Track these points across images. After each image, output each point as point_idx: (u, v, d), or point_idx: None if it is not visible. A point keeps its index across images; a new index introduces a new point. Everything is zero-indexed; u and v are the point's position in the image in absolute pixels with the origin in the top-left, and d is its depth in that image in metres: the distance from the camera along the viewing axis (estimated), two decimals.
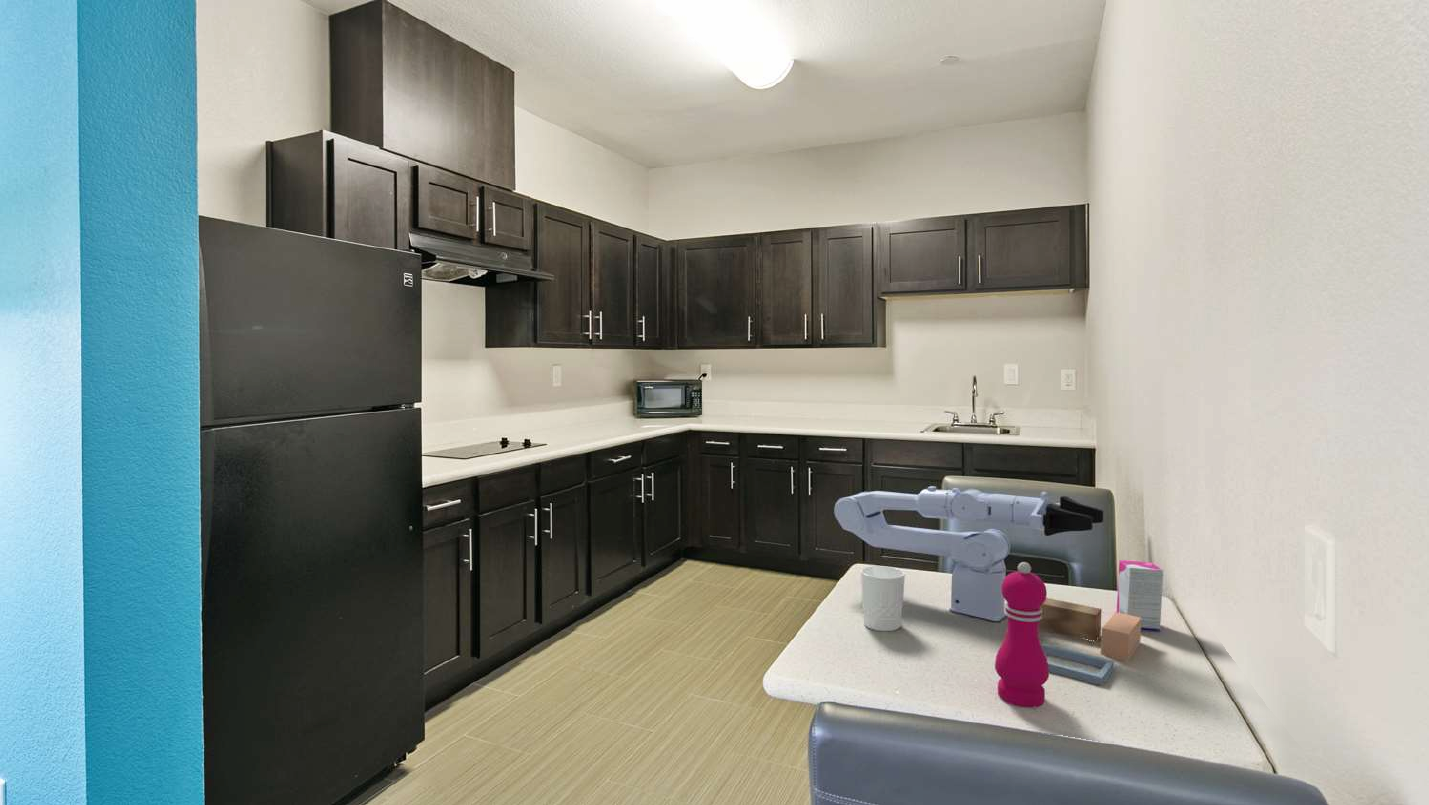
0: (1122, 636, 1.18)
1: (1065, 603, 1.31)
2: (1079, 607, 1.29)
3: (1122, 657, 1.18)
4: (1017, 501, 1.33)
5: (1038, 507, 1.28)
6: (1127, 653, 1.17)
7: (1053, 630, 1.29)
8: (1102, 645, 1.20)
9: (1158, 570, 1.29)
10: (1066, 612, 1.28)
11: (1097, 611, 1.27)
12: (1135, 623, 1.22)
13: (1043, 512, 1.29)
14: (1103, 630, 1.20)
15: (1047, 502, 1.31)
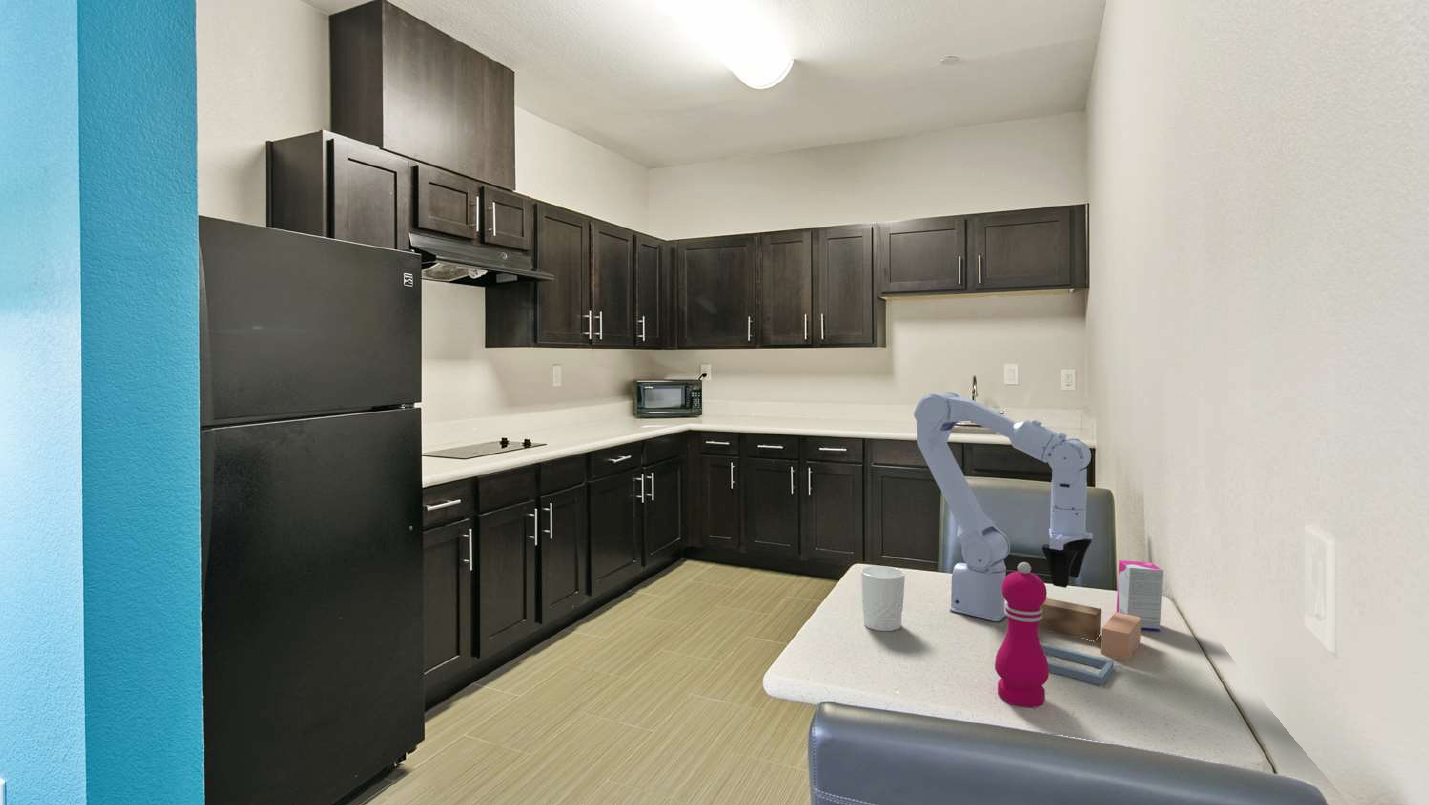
0: (1122, 636, 1.18)
1: (1065, 603, 1.31)
2: (1079, 607, 1.29)
3: (1122, 657, 1.18)
4: (1078, 513, 1.26)
5: (1072, 539, 1.25)
6: (1127, 653, 1.17)
7: (1053, 630, 1.30)
8: (1102, 645, 1.20)
9: (1158, 570, 1.29)
10: (1066, 612, 1.28)
11: (1097, 611, 1.27)
12: (1135, 623, 1.22)
13: None
14: (1103, 630, 1.20)
15: None
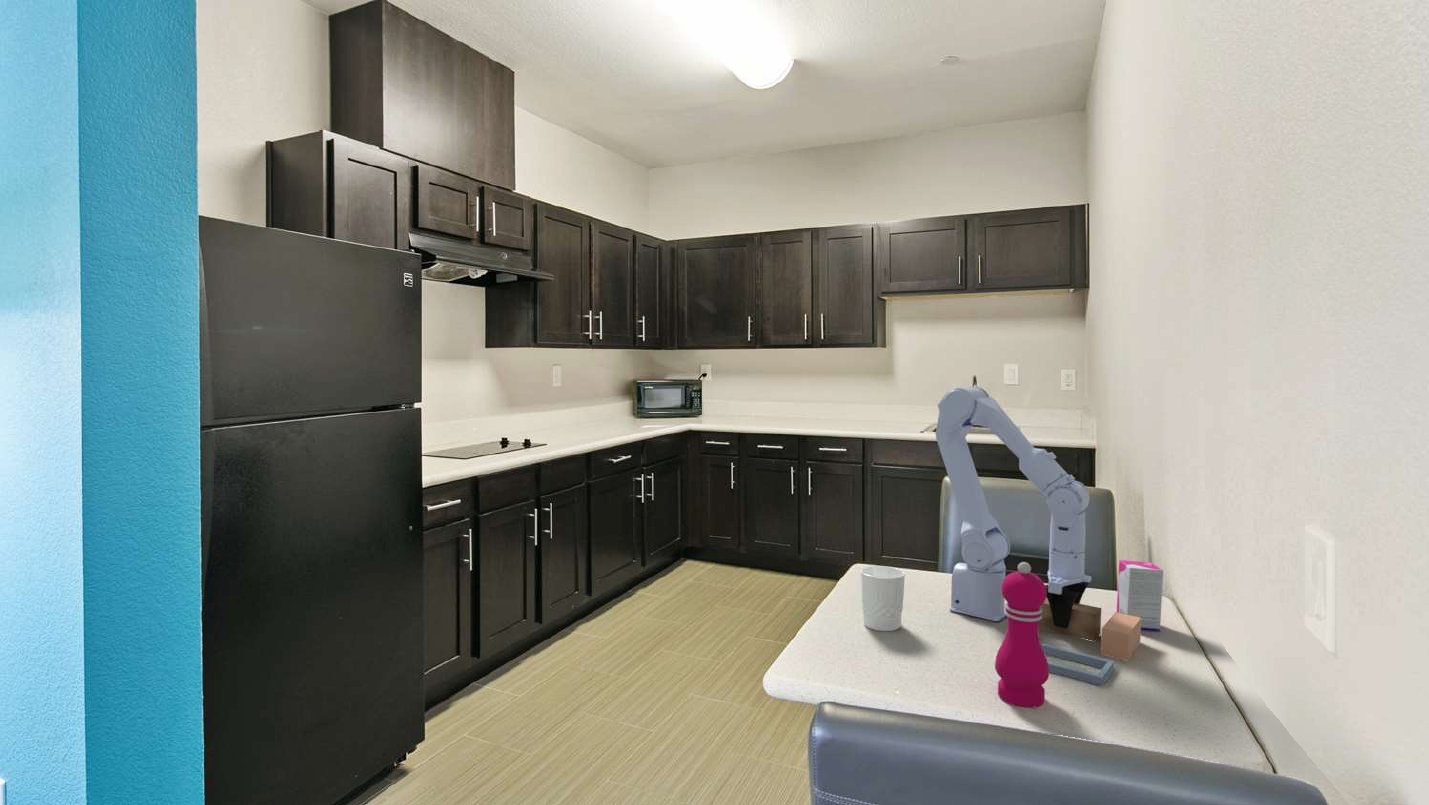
0: (1122, 636, 1.18)
1: None
2: (1079, 606, 1.29)
3: (1122, 657, 1.18)
4: (1077, 556, 1.27)
5: (1071, 583, 1.25)
6: (1127, 653, 1.17)
7: (1053, 629, 1.30)
8: (1102, 645, 1.20)
9: (1158, 570, 1.29)
10: None
11: (1097, 610, 1.26)
12: (1135, 623, 1.22)
13: None
14: (1103, 630, 1.20)
15: None
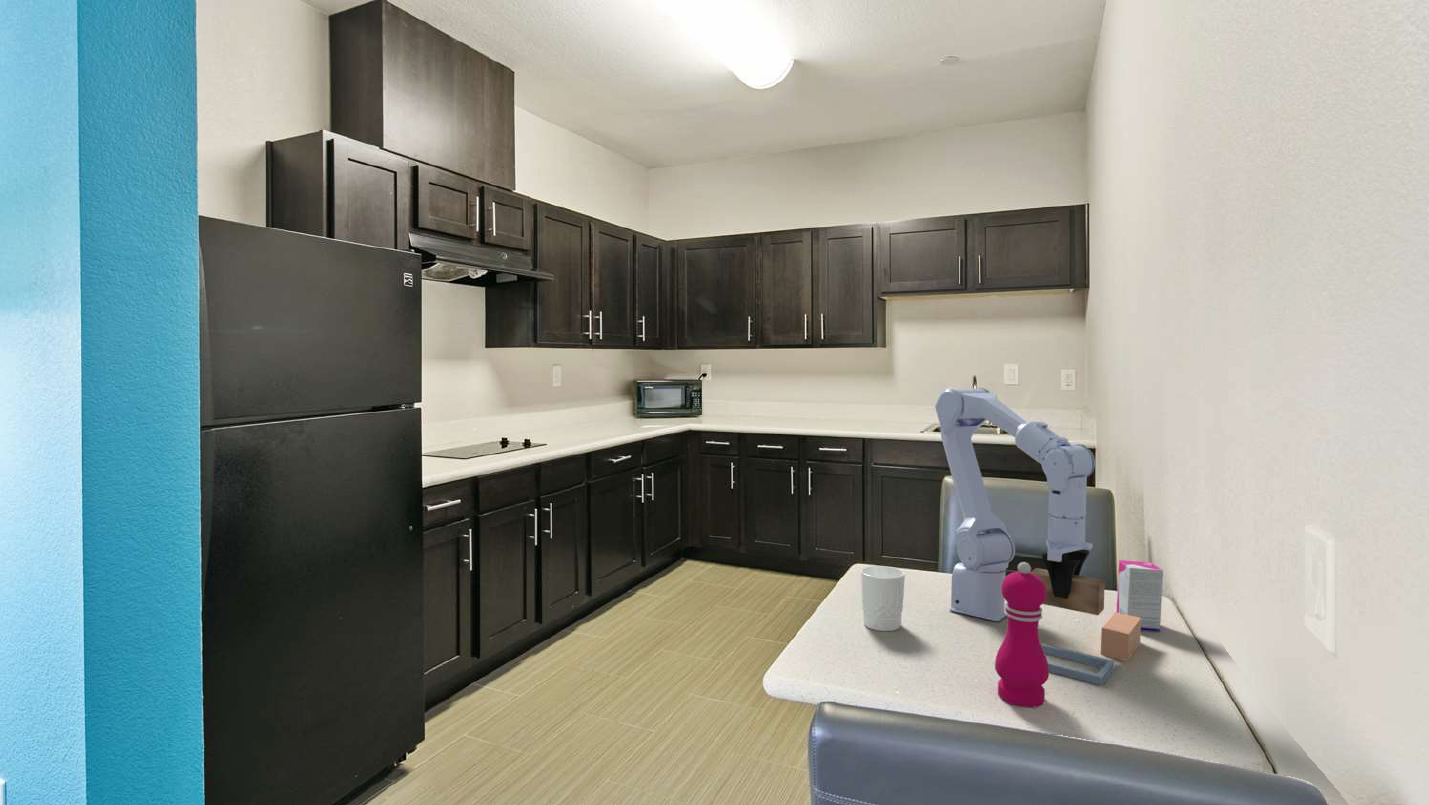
0: (1122, 636, 1.18)
1: None
2: (1081, 578, 1.22)
3: (1122, 657, 1.18)
4: (1077, 522, 1.20)
5: (1071, 550, 1.19)
6: (1127, 653, 1.17)
7: (1053, 603, 1.22)
8: (1102, 645, 1.20)
9: (1158, 570, 1.29)
10: None
11: (1100, 582, 1.20)
12: (1135, 623, 1.22)
13: None
14: (1103, 630, 1.19)
15: None
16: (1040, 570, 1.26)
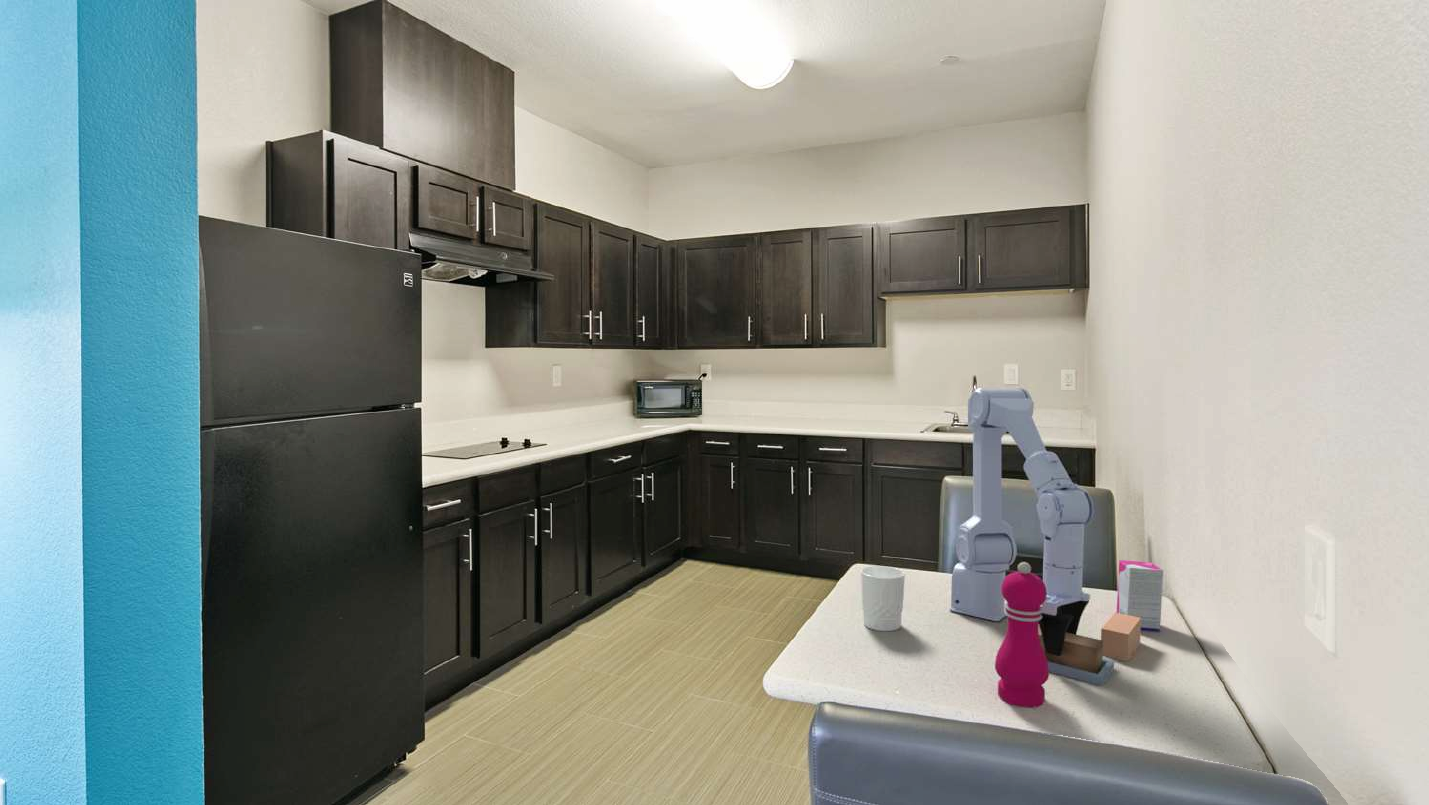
0: (1122, 636, 1.18)
1: None
2: (1078, 638, 1.14)
3: (1122, 657, 1.18)
4: (1074, 572, 1.12)
5: (1067, 602, 1.11)
6: (1127, 653, 1.17)
7: None
8: None
9: (1158, 570, 1.29)
10: None
11: (1098, 644, 1.12)
12: (1135, 623, 1.22)
13: None
14: (1103, 630, 1.19)
15: None
16: None
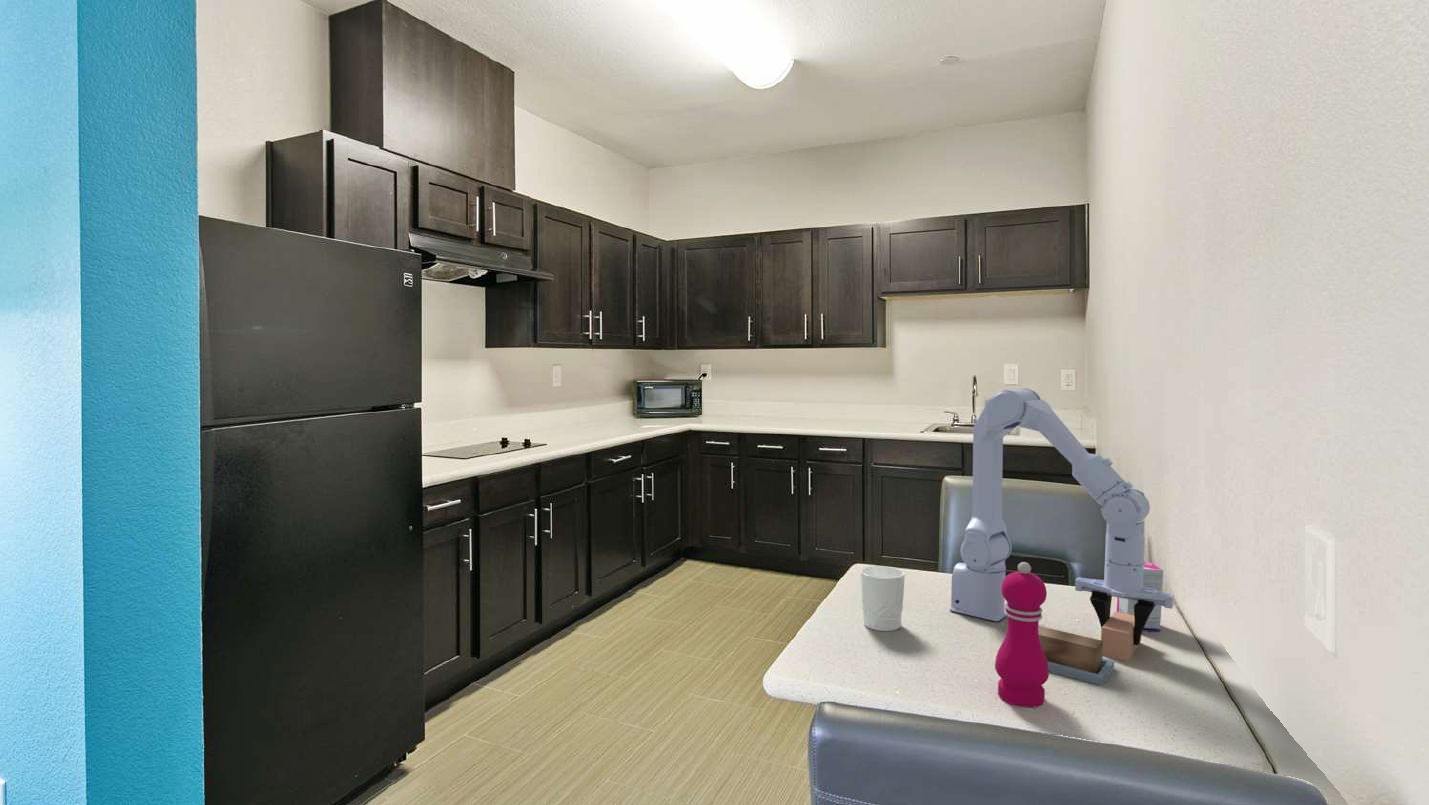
0: (1122, 635, 1.18)
1: (1062, 633, 1.16)
2: (1078, 638, 1.14)
3: (1122, 656, 1.18)
4: (1109, 565, 1.21)
5: (1095, 587, 1.23)
6: (1127, 652, 1.17)
7: None
8: None
9: (1158, 570, 1.29)
10: (1063, 644, 1.13)
11: (1098, 644, 1.12)
12: None
13: (1102, 590, 1.23)
14: (1103, 629, 1.19)
15: None
16: None
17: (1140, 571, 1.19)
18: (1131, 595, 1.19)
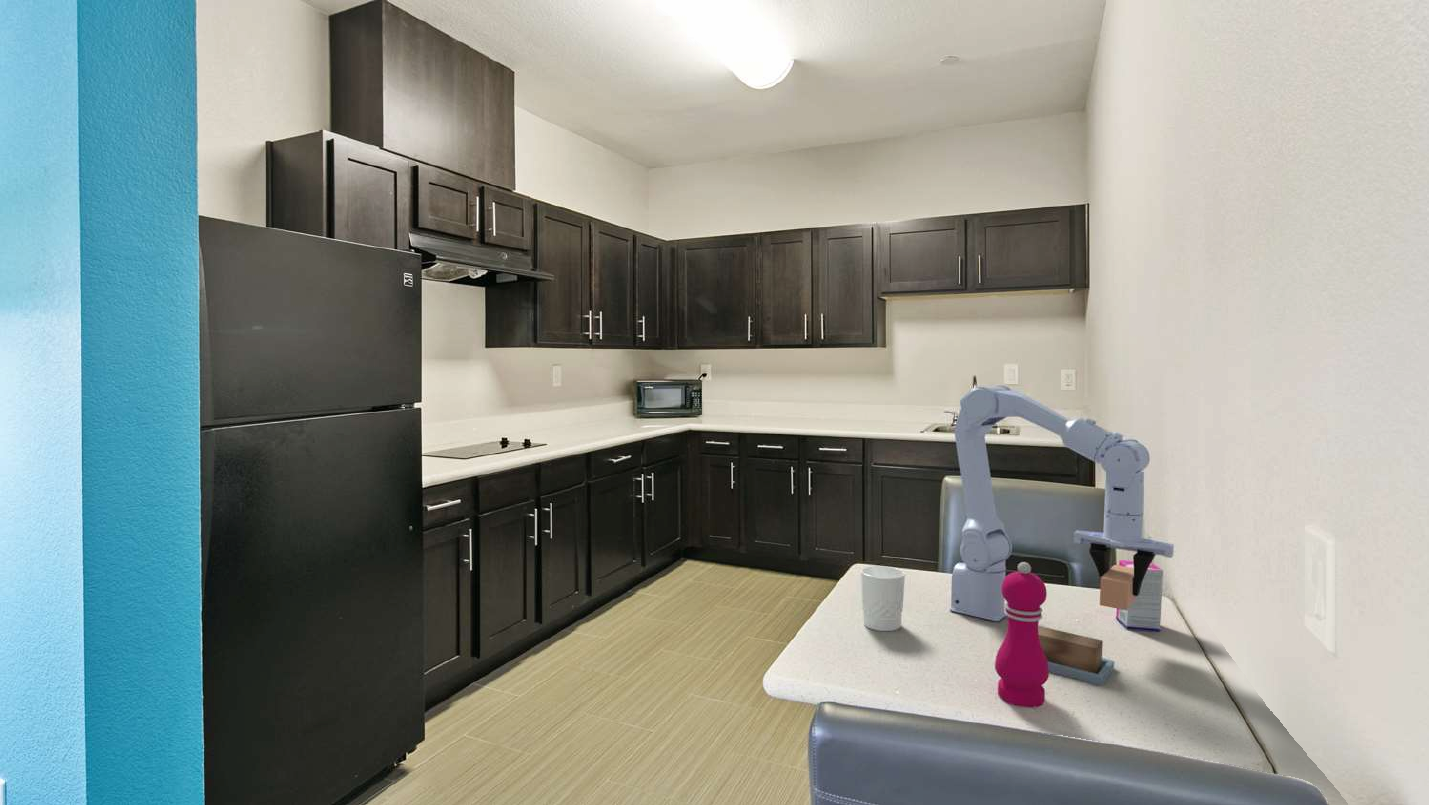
0: (1121, 584, 1.17)
1: (1062, 633, 1.16)
2: (1078, 638, 1.14)
3: (1121, 606, 1.17)
4: (1108, 516, 1.20)
5: (1094, 539, 1.22)
6: (1126, 602, 1.17)
7: None
8: (1101, 595, 1.19)
9: (1158, 570, 1.29)
10: (1062, 644, 1.13)
11: (1098, 644, 1.12)
12: None
13: (1101, 542, 1.22)
14: (1102, 580, 1.19)
15: None
16: None
17: (1139, 521, 1.19)
18: (1130, 545, 1.18)
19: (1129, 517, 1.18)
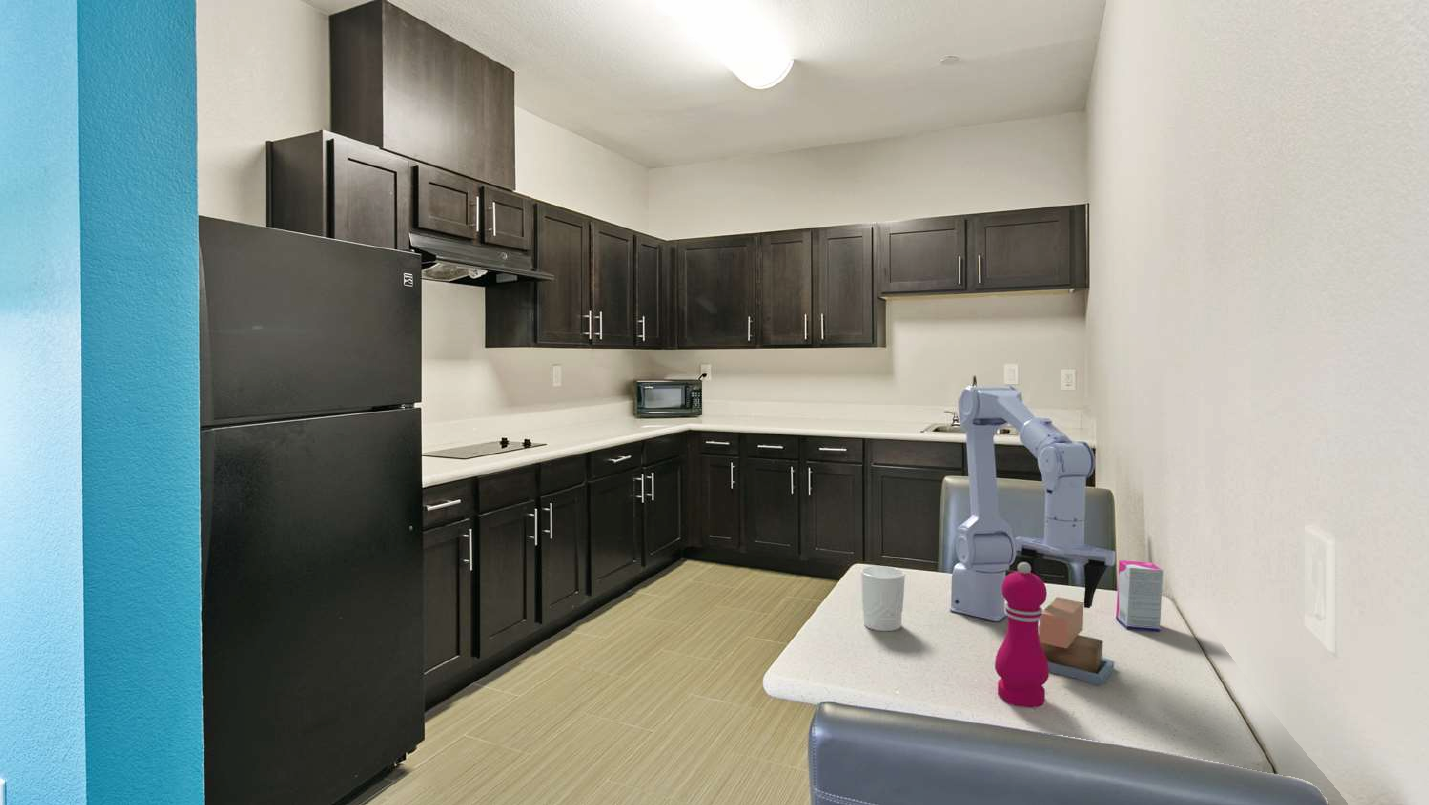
0: (1061, 621, 1.11)
1: None
2: (1078, 638, 1.14)
3: (1061, 644, 1.11)
4: (1048, 521, 1.14)
5: (1034, 545, 1.16)
6: (1066, 639, 1.10)
7: None
8: (1041, 631, 1.13)
9: (1158, 570, 1.29)
10: None
11: (1098, 643, 1.12)
12: (1076, 608, 1.15)
13: (1042, 549, 1.16)
14: (1042, 615, 1.12)
15: None
16: None
17: (1080, 527, 1.12)
18: (1070, 552, 1.12)
19: (1069, 523, 1.12)
